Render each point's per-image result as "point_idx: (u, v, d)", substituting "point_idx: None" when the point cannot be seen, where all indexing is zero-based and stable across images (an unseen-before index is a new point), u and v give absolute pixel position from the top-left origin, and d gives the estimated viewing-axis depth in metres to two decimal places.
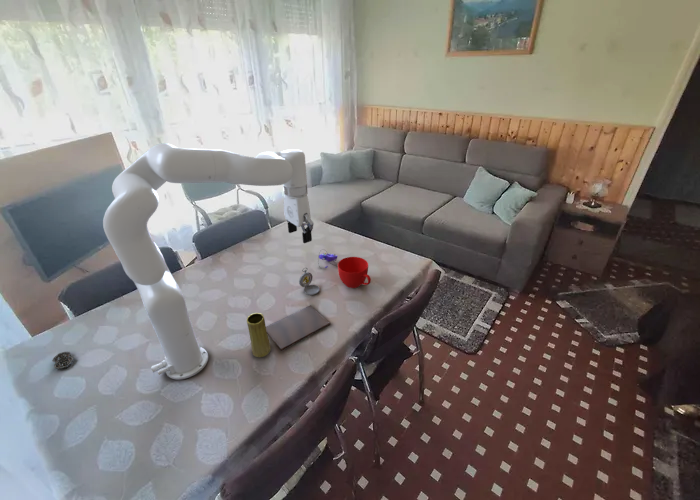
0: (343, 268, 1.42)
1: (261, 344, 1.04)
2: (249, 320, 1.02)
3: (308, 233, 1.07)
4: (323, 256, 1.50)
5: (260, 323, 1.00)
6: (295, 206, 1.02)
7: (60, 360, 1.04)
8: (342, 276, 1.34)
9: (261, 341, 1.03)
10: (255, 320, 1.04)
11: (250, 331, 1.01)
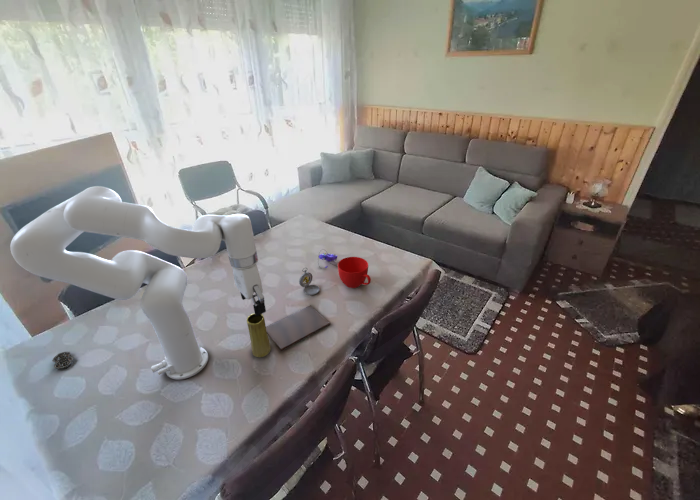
0: (343, 268, 1.42)
1: (261, 344, 1.04)
2: (249, 320, 1.02)
3: (260, 305, 0.93)
4: (323, 256, 1.50)
5: (260, 323, 1.00)
6: (242, 278, 0.88)
7: (60, 360, 1.04)
8: (342, 276, 1.34)
9: (261, 341, 1.03)
10: (255, 320, 1.04)
11: (250, 331, 1.01)
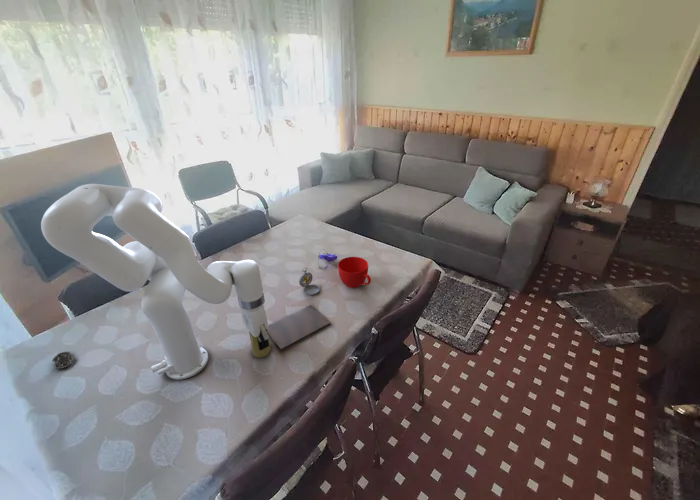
0: (343, 268, 1.42)
1: None
2: None
3: (264, 341, 1.02)
4: (323, 256, 1.50)
5: None
6: (250, 319, 0.96)
7: (60, 360, 1.04)
8: (342, 276, 1.34)
9: None
10: None
11: None
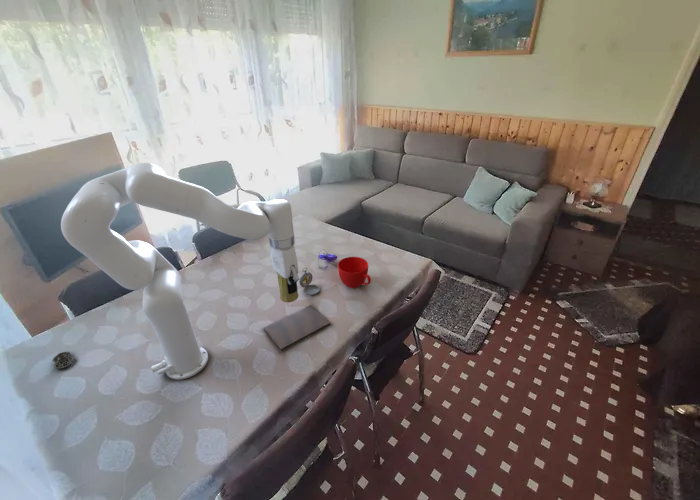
0: (343, 268, 1.42)
1: None
2: None
3: (293, 284, 1.03)
4: (323, 256, 1.50)
5: None
6: (281, 259, 0.96)
7: (60, 360, 1.04)
8: (342, 276, 1.34)
9: None
10: None
11: None
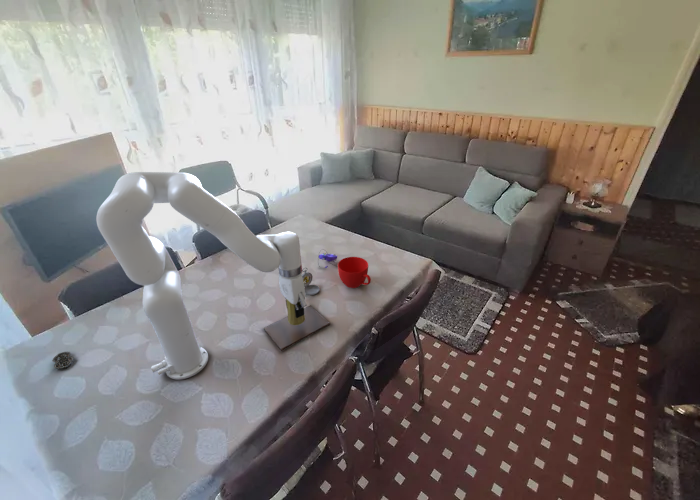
0: (343, 268, 1.42)
1: None
2: None
3: (300, 309, 1.10)
4: (323, 256, 1.50)
5: None
6: (290, 287, 1.03)
7: (60, 360, 1.04)
8: (342, 276, 1.34)
9: None
10: None
11: None
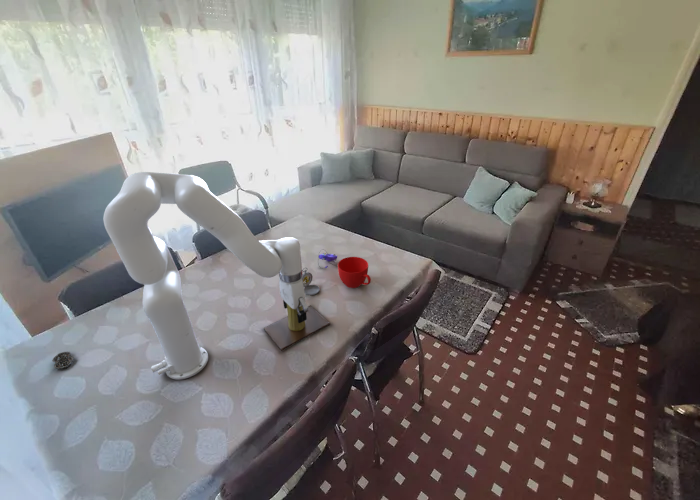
0: (343, 268, 1.42)
1: None
2: None
3: (303, 314, 1.09)
4: (323, 256, 1.50)
5: None
6: (290, 292, 1.04)
7: (60, 360, 1.04)
8: (342, 276, 1.34)
9: None
10: None
11: (288, 306, 1.10)
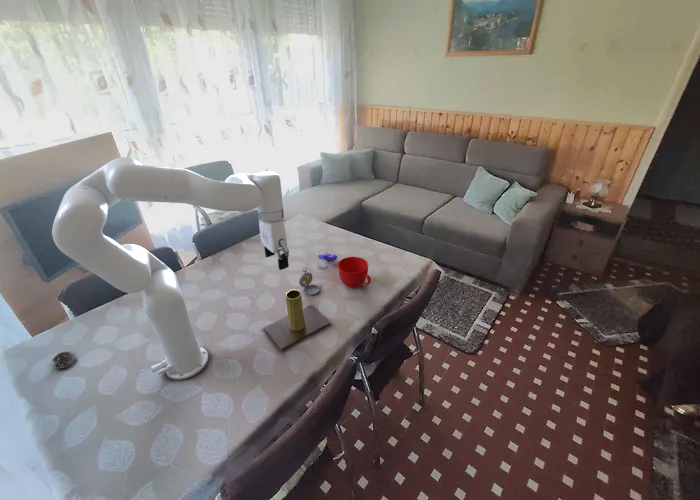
0: (343, 268, 1.42)
1: (298, 318, 1.13)
2: (287, 296, 1.11)
3: (284, 259, 1.00)
4: (323, 256, 1.50)
5: (298, 298, 1.09)
6: (269, 232, 0.96)
7: (60, 360, 1.04)
8: (342, 276, 1.34)
9: (298, 316, 1.12)
10: (292, 296, 1.13)
11: (288, 306, 1.10)
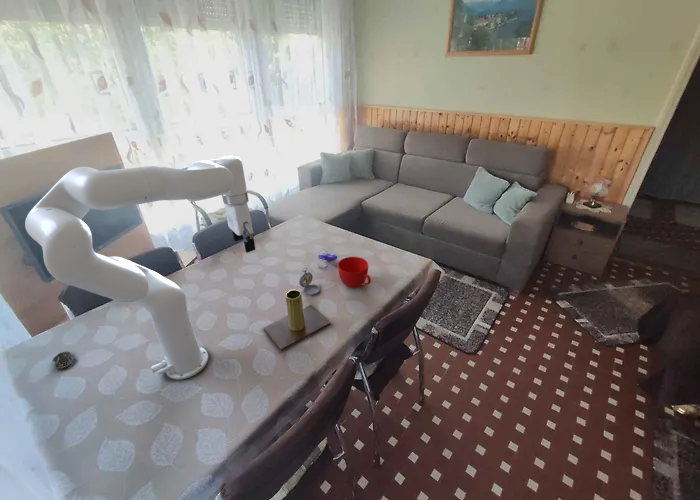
0: (343, 268, 1.42)
1: (298, 318, 1.13)
2: (287, 296, 1.11)
3: (250, 242, 1.03)
4: (323, 256, 1.50)
5: (298, 298, 1.09)
6: (234, 215, 0.99)
7: (60, 360, 1.04)
8: (342, 276, 1.34)
9: (298, 316, 1.12)
10: (292, 296, 1.13)
11: (288, 306, 1.10)
